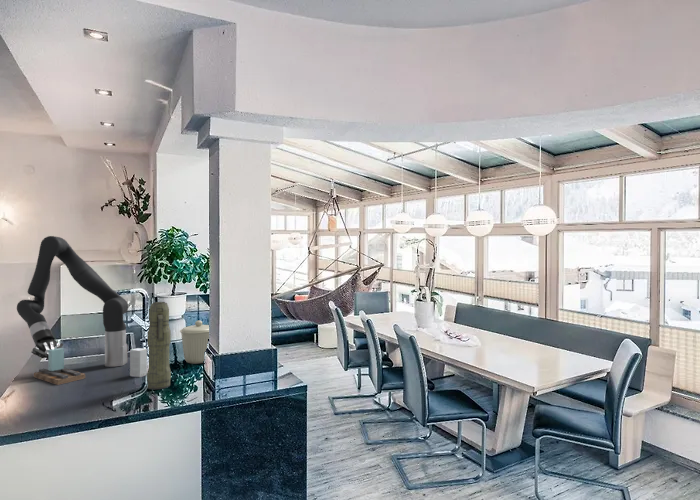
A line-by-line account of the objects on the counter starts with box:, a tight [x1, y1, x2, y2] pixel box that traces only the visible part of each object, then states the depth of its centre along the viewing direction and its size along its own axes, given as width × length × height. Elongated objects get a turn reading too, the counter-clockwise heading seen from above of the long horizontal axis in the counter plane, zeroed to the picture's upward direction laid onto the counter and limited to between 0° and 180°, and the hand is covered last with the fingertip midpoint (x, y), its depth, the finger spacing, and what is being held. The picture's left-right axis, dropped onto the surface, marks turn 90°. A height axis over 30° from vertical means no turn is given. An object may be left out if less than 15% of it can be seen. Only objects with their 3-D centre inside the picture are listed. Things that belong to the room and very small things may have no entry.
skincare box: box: [129, 347, 148, 378], centre depth 192 cm, size 6×4×12 cm
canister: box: [179, 319, 210, 365], centre depth 217 cm, size 18×18×21 cm
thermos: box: [146, 301, 172, 390], centre depth 177 cm, size 9×12×35 cm
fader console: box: [33, 367, 86, 386], centre depth 189 cm, size 22×11×3 cm, turn 59°
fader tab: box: [47, 347, 65, 373], centre depth 191 cm, size 4×5×10 cm
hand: (54, 363), depth 192 cm, fingers closed
